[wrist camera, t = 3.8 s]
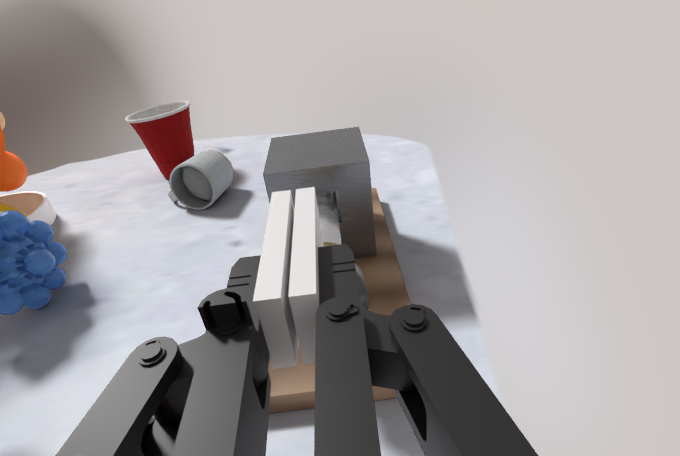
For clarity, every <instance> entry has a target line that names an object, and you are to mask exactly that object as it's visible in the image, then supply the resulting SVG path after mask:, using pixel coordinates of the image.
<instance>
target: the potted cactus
mask: <svg viewBox="0 0 680 456" xmlns="http://www.w3.org/2000/svg"><path fill="white" fill-rule="evenodd" d="M4 126H5V120H4V116H3V114H2V113H1V112H0V191H11V190H15V189H17V188H19V187H20V186H22V185H23V184H24V182H25V181H26V178H27V168H26V166H25V164H24V162H23V161H22V160H21V159H20V158H19V157H17V156H16V155H14V154H13V153H10V152H7V151H5V142H4V141H5V140H4V135H3V132H2V130H3V128H4ZM8 210H13V211H18V212H20V213H22V214H24V215H25V216H26V217H27V219H28V220H29V222H32V221H35V220H39V221H44V222H46V223H48V224H49V225H50V226H51V225H52V224H53V223H54V221H55V219H56V213H55V212H54V210H53V208H52V206H51V204H50V202H49V201H48V199H47V197H46V195H45V194H44V193H41V192H35V191H28V192H18V193H12V194H7V195H2V196H0V213H1V212H5V211H8Z"/></svg>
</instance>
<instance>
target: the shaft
mask: <svg viewBox="0 0 680 456" xmlns="http://www.w3.org/2000/svg"><path fill="white" fill-rule="evenodd" d="M316 199H317V205H318V212H319V218H320V224H321V230H322V237H323V243H324V246H332V245H340V244H341V235H340V226H339V217H338V208H337V199H336V191H334V192H326V193H318V194H316ZM355 268H356V275H357V281H358V288H359V295H360V300H361V303H362V304H363V305H364V307H365V308H367V309H368V307H369V297H368V291H367V286H366V280H365V276H364V274H363V272H362V270H361V269H360V268H359V266H358V265H356V264H355Z"/></svg>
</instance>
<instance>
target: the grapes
mask: <svg viewBox="0 0 680 456" xmlns="http://www.w3.org/2000/svg"><path fill="white" fill-rule="evenodd" d="M53 236H54V231H53V229H52V227H51V226H50V225H49V224H48V223H46V222H44V221H39V220H35V221H32V222H29V220H28V219H27V217H26V216H25V215H24V214H22V213H20V212H18V211H13V210H8V211H5V212H1V213H0V314H2V315H12V314H14V313H16V312H18V311H19V310H20V309H21V308H22V307H23V306H25V307H27V308H30V309H39V308H41V307H44V306H45V305H46V304H47V303H48V302H49V301H50V298H51V293H50V291H49V290H56V289H58V288H60V287H61V286H62V285H63V284H64V283H65V282H66V274H65V272H64V271H63V270H62V269H61V268H59V267H57V265H59V264H62V263H63V262H64V261H65V259H66V258H67V255H68V254H67V250H66V248H65V247H64V246H63V245H62V244H60V243H58V242H50V241H51V240H52V239H53Z"/></svg>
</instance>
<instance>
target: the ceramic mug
mask: <svg viewBox="0 0 680 456" xmlns="http://www.w3.org/2000/svg"><path fill="white" fill-rule="evenodd" d="M233 176H234V171H233V167H232V165H231V163H230V161H229V160H228V159H227V158H226V157H225V156H224V155H223V154H221V153H219V152H217V151H212V150H208V151H203V152H200V153H198V154H196V155H194V156H193V157H192V158H190V159H188V160H186V161H185V162H183V163H181V164H179V165H178V166H176V167H175V168H174V169H173V171H172V172H171V174H170V179H169V184H170V188H171V190H172V191H171V192H169V193H168V196H169V197H170V198H171V200H172V201H173V202H174V201H177V200H178V201H179V202H181V203H182V204H183V205H185V206H186V207H188V208H191V209H196V210H202V209H206V208H208V207H209V206H211V205H212V204H213V203H214V202H215V201H216V200H217V199H218V198H219V196H220V195H221V194H222V193H223V192H224V191H225V190H226V189H227V188H228V187H229V186H230V184H231V182H232V180H233Z"/></svg>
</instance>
